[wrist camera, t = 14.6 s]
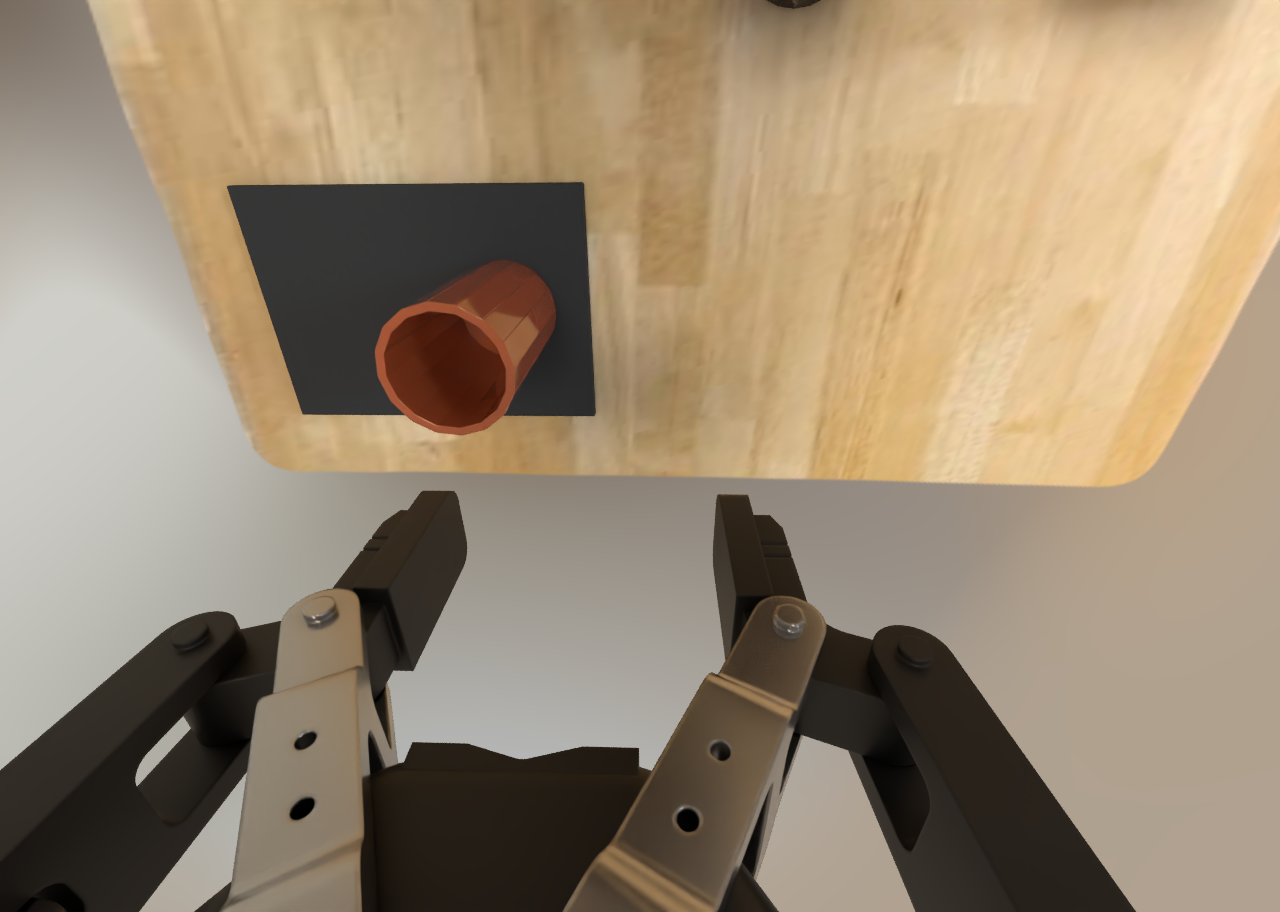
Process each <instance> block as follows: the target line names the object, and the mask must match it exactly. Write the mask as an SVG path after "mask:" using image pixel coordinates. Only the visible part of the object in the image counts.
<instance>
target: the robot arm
mask: <svg viewBox="0 0 1280 912" xmlns="http://www.w3.org/2000/svg"><path fill="white" fill-rule="evenodd" d="M466 556H467V541H466V536H465V530H464V525H463V520H462V515H461V511H460V506H459V500H458V497H457V495H456V493H455V492H454V491H422V492H421V493H420V494H419V496H418V497H417V498H416V500H415V501H414V503H413V504H412V505H411V507H410V508H409V509H408V510H400V511H399V512H397V513H396V514H395V515H393V516H391V517H390V518H389V519H387V520H386V521H384V522H383V523H382V524H381V526H380V527H379V528H378V530H377V531H376V532H375V533H374V535H373V536H372V539H370V540H369V541H368V543H367V544H366V545H365V547H364V550H363V551H361V552H360V553H359V555H358V556H357V557H356V558H355V560H354V561H353V562H352V564H351V565H350V566H349V567H348V569H347V570H346V572H345V573H344V574H343V575H342V577H341V578H340V579H339V581H338V582H337V583H336V585H335V586H334V587H333V589H327V590H323V591H319V592H316V593H314V594H311V595H309V596H307V597H305V598H303V599H301V600H300V601H299V602H297V603H296V604H294V605H293V606H292V607H291V608H290V609H289V610H288V611H287V612H286V613H285V615H284V616H283V618H282V621H278V622H274V623H269V624H264V625H260V626H255V627H250V628H245V629H240V627H239V625H238V623H237V621H236V619H235V618H234V616H233V615H231V614H229V613H226V612H219V611H215V612H207V613H202V614H199V615H195V616H192V617H190V618H187V619H185V620H182V621H180V622H178V623H176V624H175V625H173V626H171V627H170V628H168V629H167V630H165V631H164V632H163V633H161V634H160V635H159V636H158V637H156V638H155V639H154V640H153V641H152V642H151V643H149V644H148V645H147V646H146V647H145V648H144V649H142V650H141V651H140V652H139V653H138V654H137V655H135V656H134V657H133V658H132V659H131V660H129V662H127V663H126V664H125V665H123V666H122V667H121V668H120V669H119V670H118V671H116V672H115V673H114V674H113V675H112V676H111V677H109V678H108V679H107V680H106V681H105V682H104V683H103V684H101V685H100V686H99V687H98V688H96V690H94V691H93V692H92V693H91V694H89V695H88V696H87V697H86V698H85V699H84V700H82V701H81V702H80V703H79V704H78V705H77V706H75V707H74V708H73V709H72V710H71V711H69V712H68V713H67V714H66V715H65V716H64V717H63V718H61V719H60V720H59V721H58V722H56V724H54V725H53V726H52V727H51V728H50V729H48V730H47V731H46V732H45V733H44V734H42V735H41V736H40V737H39V738H38V739H37V740H36V741H34V742H33V743H32V744H31V745H30V746H28V747H27V748H26V749H25V750H24V751H22V752H21V753H20V754H19V755H18V756H17V757H15V758H14V759H13V760H12V761H11V762H9V763H8V764H7V765H6V766H5V767H4V768H3V769H1V770H0V912H139V911H140V910H141V908H142V907H143V906H144V905H145V903H146V902H147V901H148V899H149V898H150V897H151V896H152V894H153V893H154V892H155V890H156V889H157V888H158V886H159V885H160V883H162V881H163V880H164V879H165V877H166V876H167V874H168V873H169V872H170V871H171V869H172V868H173V867H174V866H175V864H176V863H177V862H178V860H179V859H180V858H181V857H182V855H183V854H184V853H185V851H186V850H187V849H188V847H189V846H190V845H191V844H192V842H193V841H194V840H195V838H196V837H197V836H198V835H199V833H200V832H201V830H202V829H203V828H204V827H205V825H206V824H207V823H208V822H209V820H210V819H211V818H212V816H213V815H214V814H215V812H216V811H217V810H218V808H219V807H220V806H221V805H222V803H223V802H224V801H225V799H226V798H227V797H228V796H229V794H230V793H231V792H232V790H233V789H234V788H235V786H236V785H237V784H238V783H239V781H240V780H241V779H242V777H243V776H244V775H245V774H246V772H247V775H246V783H245V790H244V798H243V804H242V811H241V819H240V826H239V833H238V840H237V848H236V855H235V862H234V869H233V876H232V882H230V883H229V884H228V885H226V886H225V887H224V888H223V889H222V890H221V891H219V892H218V893H217V894H215V895H214V896H213V897H212V898H211V899H209V900H208V901H207V902H206V903H204V904H203V905H202V906H201V907H199V908H198V909H197V910H196V911H195V912H779V911H778V910H777V909H776V907H775V906H774V905H773V903H772V902H771V901H770V899H769V898H768V897H767V895H766V894H765V893H764V891H763V890H762V889H761V887H760V886H759V885H758V883H757V882H756V879H757V876H758V873H759V870H760V867H761V864H762V861H763V858H764V855H765V852H766V849H767V846H768V842H769V839H770V835H771V832H772V828H773V824H774V821H775V817H776V814H777V810H778V807H779V804H780V801H781V798H782V795H783V792H784V789H785V787H786V784H787V781H788V778H789V775H790V772H791V769H792V766H793V763H794V760H795V757H796V754H797V751H798V749H799V746H800V743H801V740H802V737H803V735H804V736H807V737H810V738H813V739H816V740H819V741H822V742H825V743H828V744H831V745H834V746H837V747H840V748H843V749H846V750H848V751H849V753H850V756H851V758H852V760H853V763H854V765H855V767H856V770H857V772H858V775H859V777H860V779H861V782H862V784H863V787H864V789H865V792H866V794H867V796H868V799H869V801H870V804H871V806H872V808H873V811H874V813H875V816H876V818H877V820H878V823H879V825H880V827H881V830H882V832H883V835H884V837H885V839H886V842H887V844H888V846H889V849H890V852H891V854H892V856H893V859H894V861H895V863H896V866H897V868H898V870H899V873H900V875H901V878H902V880H903V883H904V885H905V887H906V890H907V892H908V894H909V897H910V899H911V902H912V904H913V907H914V909H915V911H916V912H1136V911H1135V910H1134V908H1133V907H1132V905H1131V904H1130V903H1129V901H1128V900H1127V898H1126V897H1125V896H1124V894H1123V893H1122V891H1121V890H1120V889H1119V887H1118V886H1117V884H1116V883H1115V882H1114V880H1113V879H1112V877H1111V876H1110V875H1109V873H1108V872H1107V870H1106V869H1105V867H1104V866H1103V865H1102V864H1101V862H1100V861H1099V859H1098V858H1097V856H1096V855H1095V854H1094V852H1093V851H1092V849H1091V848H1090V846H1089V845H1088V844H1087V842H1086V841H1085V839H1084V838H1083V837H1082V835H1081V834H1080V832H1079V831H1078V829H1077V828H1076V827H1075V825H1074V824H1073V823H1072V821H1071V820H1070V818H1069V817H1068V815H1067V814H1066V813H1065V811H1064V810H1063V809H1062V807H1061V806H1060V804H1059V803H1058V801H1057V800H1056V799H1055V797H1054V796H1053V794H1052V793H1051V791H1050V790H1049V789H1048V787H1047V786H1046V784H1045V783H1044V782H1043V780H1042V779H1041V778H1040V776H1039V775H1038V773H1037V772H1036V770H1035V769H1034V768H1033V766H1032V765H1031V764H1030V762H1029V761H1028V759H1027V758H1026V757H1025V755H1024V754H1023V752H1022V751H1021V749H1020V748H1019V747H1018V745H1017V744H1016V742H1015V741H1014V739H1013V738H1012V737H1011V735H1010V734H1009V733H1008V731H1007V730H1006V728H1005V727H1004V726H1003V724H1002V723H1001V721H1000V720H999V718H998V717H997V716H996V714H995V713H994V711H993V710H992V708H991V707H990V706H989V705H988V703H987V701H986V700H985V699H984V697H983V696H982V694H981V693H980V692H979V690H978V689H977V687H976V686H975V685H974V684H973V682H972V680H971V679H970V678H969V676H968V675H967V673H966V672H965V671H964V669H963V668H962V666H961V665H960V663H959V662H958V661H957V659H956V658H955V657H954V655H953V654H952V652H951V651H950V650H949V649H948V647H947V646H946V645H945V644H944V643H942V642H941V641H940V640H939V639H937V638H936V637H934V636H932V635H931V634H929V633H927V632H925V631H923V630H920V629H917V628H914V627H910V626H903V625H893V626H888V627H885V628H883V629H881V630H879V631H878V632H877V633H876V635H875V636H874V639H873V640H871V639H867V638H864V637H860V636H856V635H852V634H849V633H845V632H842V631H839V630H837V629H834V628H833V627H831V626H829V625H827V624H826V622H825V620H824V618H823V616H822V615H821V613H820V612H819V611H818V610H817V609H816V608H815V607H813V606H812V605H811V604H809V603H807V600H806V597H805V594H804V591H803V588H802V585H801V582H800V580H799V576H798V573H797V570H796V567H795V564H794V561H793V558H792V557H791V552H790V549H789V546H788V545H787V540H786V537H785V534H784V531H783V528H782V527H781V526H780V525H779V524H778V523H777V522H776V521H775V520H774V519H773V518H772V517H771V516H770V515H753V512H752V508H751V505H750V501H749V497H748V495H721V494H719V495H717V500H716V513H715V527H714V541H713V567H714V576H715V584H716V591H717V599H718V607H719V614H720V622H721V629H722V637H723V645H724V652H725V660H726V661H725V663H724V665H723V667H722V669H721V670H720V672H719V673H718V674H714V673H709V674H708V675H707V676H706V678H705V679H704V680H703V682H702V684H701V685H700V687H699V689H698V691H697V693H696V694H695V696H694V698H693V700H692V701H691V703H690V705H689V707H688V708H687V710H686V712H685V714H684V715H683V718H682V719H681V721H680V722H679V724H678V726H677V728H676V729H675V731H674V733H673V735H672V736H671V738H670V740H669V742H668V743H667V745H666V747H665V749H664V750H663V752H662V754H661V756H660V757H659V759H658V761H657V763H656V765H655V766H654V768H653V770H652V771H650V770H647V769H644V768H641V767H639V748H617V747H615V748H614V747H579V748H574V749H570V750H565V751H561V752H556V753H552V754H547V755H543V756H538V757H534V758H529V759H516V758H512V757H509V756H506V755H503V754H499V753H496V752H493V751H490V750H487V749H483V748H480V747H476V746H474V745H470V744H460V743H422V742H413V743H412V745H411V748H410V749H409V752H408V754H407V757H406V759H405V761H404V762H403V763H398V759H397V750H396V742H395V732H394V723H393V715H392V705H391V696H390V690H389V687H388V684H387V681H388V679H389V678H390V676H391V674H392V672H393V670H395V671H398V670H400V671H413V670H414V668H415V666H416V664H417V662H418V660H419V658H420V656H421V654H422V652H423V650H424V648H425V645H426V643H427V641H428V639H429V637H430V635H431V633H432V631H433V629H434V627H435V625H436V623H437V621H438V619H439V617H440V615H441V613H442V610H443V608H444V606H445V604H446V602H447V600H448V598H449V596H450V594H451V592H452V589H453V588H454V586H455V583H456V581H457V579H458V577H459V575H460V573H461V571H462V569H463V567H464V564H465V561H466ZM183 716H184V718H185V719H186V721H187V722H188V724H189V726H190V727H191V729H190V730H189V731H188V732H187V733H186V735H185V736H184V737H183V738H182V739H181V740H180V741H179V742H178V743H177V744H176V745H175V746H174V748H172V750H171V751H170V752H169V753H168V754H167V755H166V756H165V757H164V758H163V759H162V760H161V761H160V762H159V764H158V765H157V766H156V767H155V768H154V769H153V770H152V771H151V772H150V773H149V774H148V775H147V777H146V778H145V779H144V780H143V781H142V782H141V783H140V784H139V785H138V786H136V783H135V776H136V772H137V769H138V767H139V764H140V763H141V761H142V759H143V758H144V757H145V755H146V754H147V753H148V752H149V751H150V750H151V749H152V748H153V747H154V746H155V744H157V743H158V741H159V740H160V739H161V738H162V737H163V736H164V735H165V734H166V733H167V732H168V731H169V730H170V729H171V728H172V727H173V726H174V725H175V724H176V723H177V722H178V721H179V720H180V719H181V718H182V717H183Z"/></svg>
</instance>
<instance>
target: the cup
mask: <svg viewBox="0 0 1280 912" xmlns="http://www.w3.org/2000/svg"><path fill="white" fill-rule="evenodd" d="M555 324H556V306H555V302H554V298H553V296H552V293H551V291H550V289H549V288H548V286H547V284H546V283H545V282H544V280H543V279H542V278H541V277H540V276H539V275H538V274H537V273H536V272H534V271H533V270H532V269H530V268H529V267H527V266H525V265H523V264H521V263H518V262H515V261H511V260H501V259H500V260H492V261H488V262H485V263H482V264H480V265H477V266H475V267H473V268H471V269H470V270H468V271H466V272H465V273H463V274H461V275H459V276H458V277H456V278H454V279H452V280H451V281H449V282H447V283H446V284H444V285H442V286H440V287H439V288H437V289H435V290H433V291H432V292H430V293H428V294H427V295H425V296H423V297H421V298H420V299H418V300H416V301H414V302H413V303H411V304H409V305H408V306H406V307H404V308H402V309H401V310H399V311H398V312H397V313H396V314H395V315H394V316H393V317H392V318H391V319H390V320H389V321H388V322H387V323H386V324H385V325H384V326H383V328H382V330H381V333H380V336H379V339H378V342H377V345H376V348H375V358H376V366H377V374H378V379H379V380H380V382H381V384H382V386H383V388H384V390H385V391H386V393H387V395H388V397H389V399H390V401H392V403H393V404H394V405H395V406H396V407H397V408H398V409H399V410H400V411H402V412H403V413H404V414H405V415H406V416H407V417H408V418H409V419H410V420H412V421H413V422H415V423H417V424H419V425H422V426H424V427H426V428H428V429H430V430H432V431H434V432H437V433H445V434H454V435H466V434H470V433H474V432H478V431H481V430H485V429H487V428H488V427H490V426H491V425H492V424H493V423H495V422H496V421H497V420H498V419H500V418H501V417H502V416H504V414H505V413H506V411H507V410H508V408H509V406H510V405H511V403H512V401H513V400H514V398H515V396H516V395H517V393H518V392H519V390H520V388H521V387H522V385H523V383H524V382H525V380H526V378H527V377H528V375H529V374H530V372H531V370H532V369H533V367H534V365H535V364H536V362H537V360H538V359H539V357H540V355H541V354H542V352H543V351H544V349H545V347H546V346H547V344H548V342H549V340H550V338H551V336H552V334H553V331H554V328H555Z"/></svg>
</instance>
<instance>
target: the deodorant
mask: <svg viewBox="0 0 1280 912" xmlns="http://www.w3.org/2000/svg"><path fill="white" fill-rule="evenodd" d="M768 1H770V2H771V3H773V4H775V5H777V6H781V7H787V8H793V9H794V8H800V7H805V6H810V5H812V4H814V3H816V2H818V1H820V0H768Z"/></svg>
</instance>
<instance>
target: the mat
mask: <svg viewBox="0 0 1280 912" xmlns="http://www.w3.org/2000/svg"><path fill="white" fill-rule="evenodd" d="M227 188H228V191H229V194H230V197H231V200H232V203H233V206H234V209H235V212H236V215H237V218H238V221H239V224H240V227H241V230H242V233H243V236H244V239H245V242H246V245H247V248H248V251H249V254H250V257H251V260H252V263H253V266H254V269H255V272H256V275H257V278H258V281H259V284H260V287H261V290H262V293H263V296H264V299H265V302H266V305H267V308H268V311H269V314H270V317H271V320H272V323H273V326H274V329H275V332H276V335H277V338H278V341H279V344H280V347H281V350H282V353H283V356H284V359H285V362H286V365H287V368H288V372H289V375H290V378H291V381H292V384H293V387H294V390H295V393H296V396H297V399H298V402H299V405H300V408H301V411H302V414H312V415H405V414H404V413H403V412H402V411H400V410H399V409H398V408H397V407H396V406H395V405H394V404H393V403H392V401H390V399H389V397H388V395H387V393H386V391H385V390H384V388H383V386H382V384H381V382H380V380H379V379H378V374H377V366H376V358H375V348H376V345H377V342H378V339H379V336H380V333H381V330H382V328H383V326H384V325H385V324H386V323H387V322H388V321H389V320H390V319H391V318H392V317H393V316H394V315H395V314H396V313H397V312H398V311H399V310H401V309H402V308H404V307H406V306H408V305H409V304H411V303H413V302H414V301H416V300H418V299H420V298H421V297H423V296H425V295H427V294H428V293H430V292H432V291H433V290H435V289H437V288H439V287H440V286H442V285H444V284H446V283H447V282H449V281H451V280H452V279H454V278H456V277H458V276H459V275H461V274H463V273H465V272H466V271H468V270H470V269H471V268H473V267H475V266H477V265H480V264H482V263H485V262H488V261H492V260H500V259H501V260H511V261H515V262H518V263H521V264H523V265H525V266H527V267H529V268H530V269H532V270H533V271H534V272H536V273H537V274H538V275H539V276H540V277H541V278H542V279H543V280H544V282H545V283H546V284H547V286H548V288H549V289H550V291H551V293H552V296H553V298H554V302H555V306H556V324H555V328H554V331H553V334H552V336H551V338H550V340H549V342H548V344H547V346H546V347H545V349H544V351H543V352H542V354H541V355H540V357H539V359H538V360H537V362H536V364H535V365H534V367H533V369H532V370H531V372H530V374H529V375H528V377H527V378H526V380H525V382H524V383H523V385H522V387H521V388H520V390H519V392H518V393H517V395H516V396H515V398H514V400H513V401H512V403H511V405H510V406H509V408H508V410H507V411H506V413H505V414H504V416H595V413H596V411H595V391H594V372H593V353H592V334H591V314H590V295H589V276H588V257H587V238H586V218H585V199H584V183H583V182H570V183H453V184H337V185H232V186H227Z"/></svg>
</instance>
